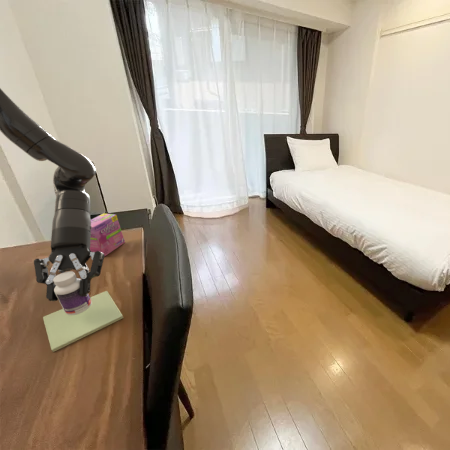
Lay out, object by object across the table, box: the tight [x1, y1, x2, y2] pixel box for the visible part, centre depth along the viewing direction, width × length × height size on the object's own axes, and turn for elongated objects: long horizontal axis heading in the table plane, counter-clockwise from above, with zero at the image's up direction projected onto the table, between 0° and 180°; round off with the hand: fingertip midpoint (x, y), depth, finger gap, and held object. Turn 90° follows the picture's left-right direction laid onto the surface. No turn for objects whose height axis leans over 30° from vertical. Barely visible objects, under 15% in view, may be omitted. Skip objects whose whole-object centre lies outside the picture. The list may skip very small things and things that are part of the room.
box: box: [90, 213, 126, 258], centre depth 96 cm, size 10×6×12 cm, turn 171°
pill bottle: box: [53, 270, 92, 315], centre depth 65 cm, size 5×5×10 cm
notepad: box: [42, 290, 124, 353], centre depth 68 cm, size 14×14×1 cm
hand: (68, 298), depth 63 cm, fingers closed on pill bottle, 5 cm apart
